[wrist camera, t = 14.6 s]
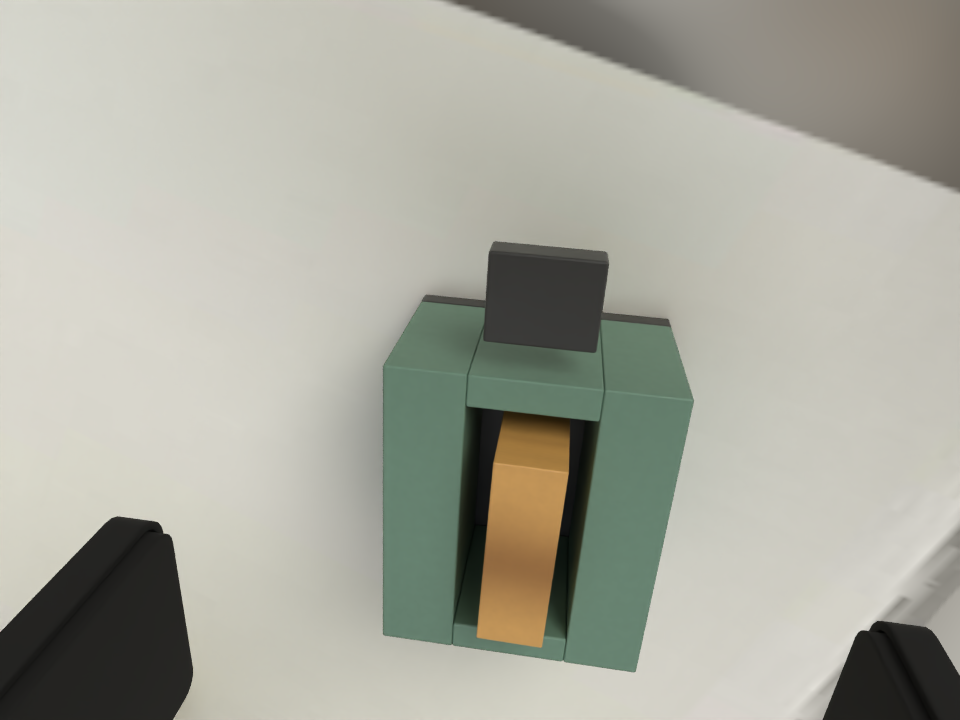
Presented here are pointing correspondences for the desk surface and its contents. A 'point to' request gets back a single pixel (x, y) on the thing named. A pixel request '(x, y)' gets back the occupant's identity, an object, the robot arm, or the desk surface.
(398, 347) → the toaster
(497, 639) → the golden wooden block
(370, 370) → the desk surface
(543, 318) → the dark grey slab
